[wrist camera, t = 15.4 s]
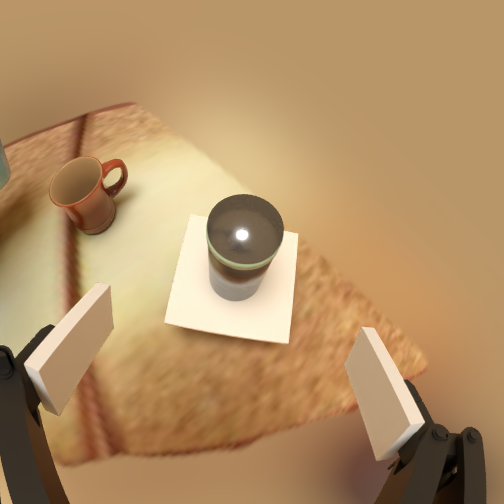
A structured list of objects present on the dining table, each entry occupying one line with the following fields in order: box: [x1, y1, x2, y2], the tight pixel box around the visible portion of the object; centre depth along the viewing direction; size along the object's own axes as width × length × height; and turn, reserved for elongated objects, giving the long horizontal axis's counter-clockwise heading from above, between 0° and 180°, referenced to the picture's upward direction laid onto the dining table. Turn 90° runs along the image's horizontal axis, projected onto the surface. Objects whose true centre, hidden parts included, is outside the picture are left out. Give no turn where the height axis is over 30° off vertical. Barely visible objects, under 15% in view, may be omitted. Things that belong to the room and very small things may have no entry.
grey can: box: [206, 194, 284, 301], centre depth 27 cm, size 6×6×12 cm
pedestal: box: [164, 215, 298, 344], centre depth 36 cm, size 14×14×7 cm
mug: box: [49, 156, 128, 234], centre depth 37 cm, size 12×9×10 cm
